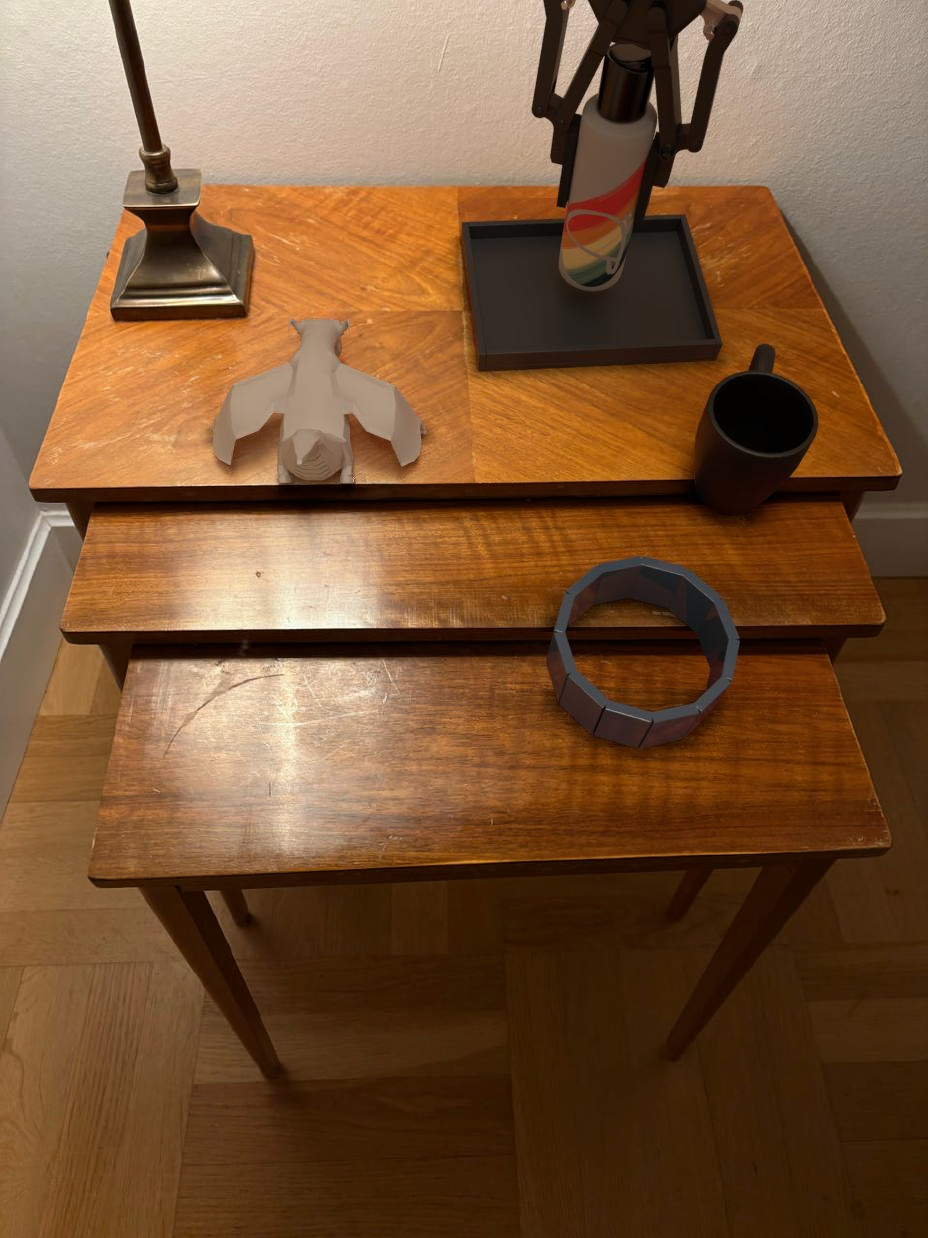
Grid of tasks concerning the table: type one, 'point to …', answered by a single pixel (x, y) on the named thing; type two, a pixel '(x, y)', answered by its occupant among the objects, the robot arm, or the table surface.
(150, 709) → the table surface
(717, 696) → the segmented bangle bracelet
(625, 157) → the white cylindrical bottle
